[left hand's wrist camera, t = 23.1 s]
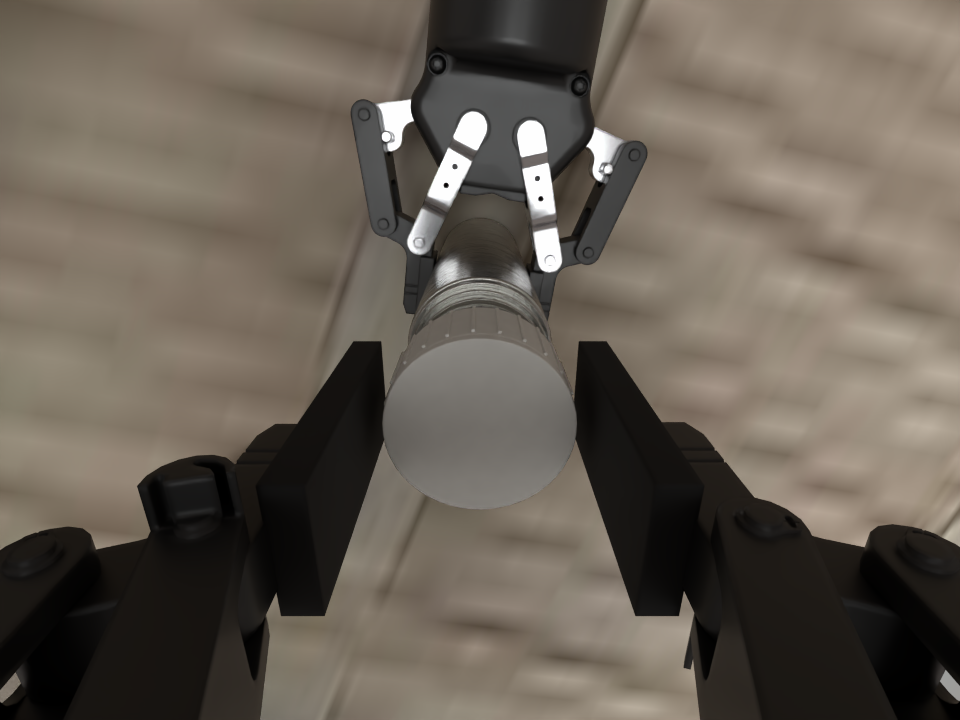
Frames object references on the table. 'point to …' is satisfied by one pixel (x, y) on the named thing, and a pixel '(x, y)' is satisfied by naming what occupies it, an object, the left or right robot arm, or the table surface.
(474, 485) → the cap
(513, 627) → the table surface
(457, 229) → the bottle
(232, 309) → the table surface
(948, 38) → the table surface
